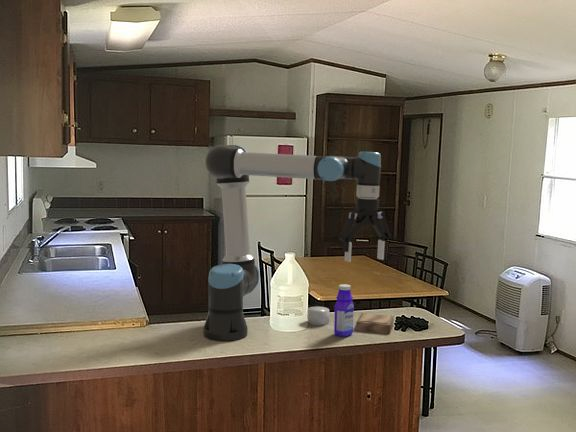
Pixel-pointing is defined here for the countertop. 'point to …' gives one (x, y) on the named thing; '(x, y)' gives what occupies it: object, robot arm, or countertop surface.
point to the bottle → (344, 311)
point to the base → (375, 323)
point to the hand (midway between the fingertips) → (364, 260)
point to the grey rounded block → (318, 315)
